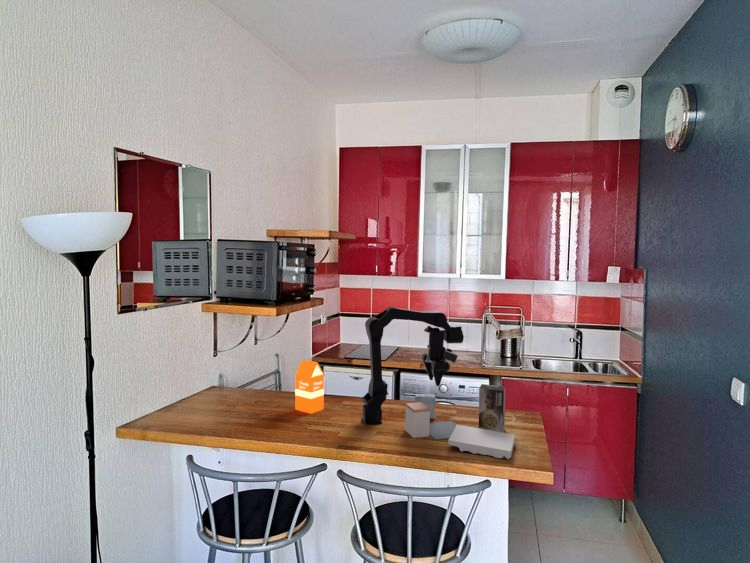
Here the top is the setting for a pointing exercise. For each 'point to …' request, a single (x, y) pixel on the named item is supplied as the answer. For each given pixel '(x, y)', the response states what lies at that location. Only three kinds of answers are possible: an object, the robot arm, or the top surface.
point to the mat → (441, 430)
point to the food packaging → (482, 441)
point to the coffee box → (492, 407)
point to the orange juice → (309, 387)
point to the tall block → (417, 419)
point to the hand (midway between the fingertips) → (434, 383)
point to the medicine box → (427, 402)
